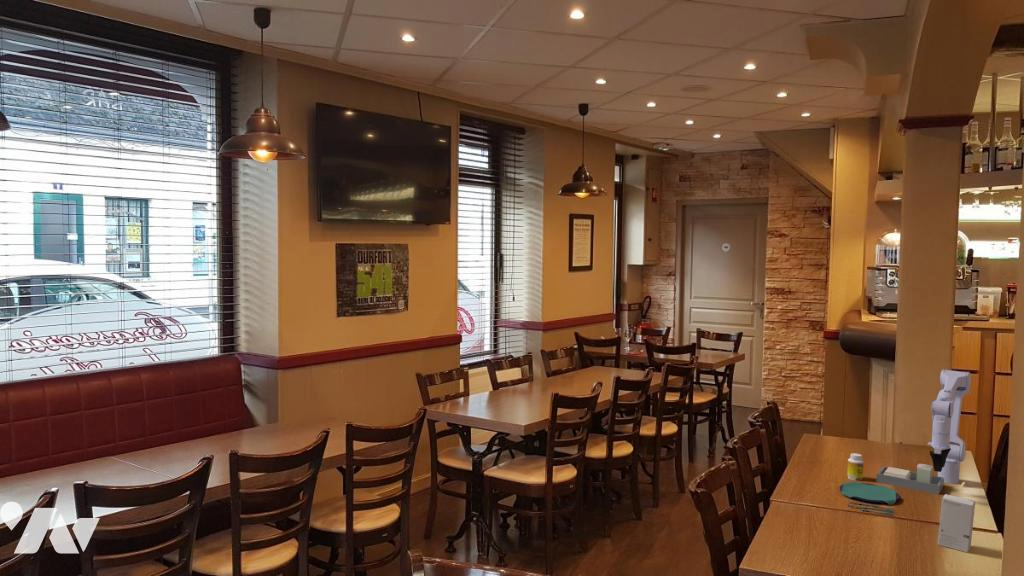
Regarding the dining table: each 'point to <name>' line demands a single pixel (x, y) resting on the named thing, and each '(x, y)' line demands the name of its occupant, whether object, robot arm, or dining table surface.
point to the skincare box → (956, 523)
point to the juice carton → (924, 473)
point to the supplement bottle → (855, 467)
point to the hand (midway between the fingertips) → (939, 468)
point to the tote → (911, 482)
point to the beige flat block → (898, 473)
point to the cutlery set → (870, 495)
